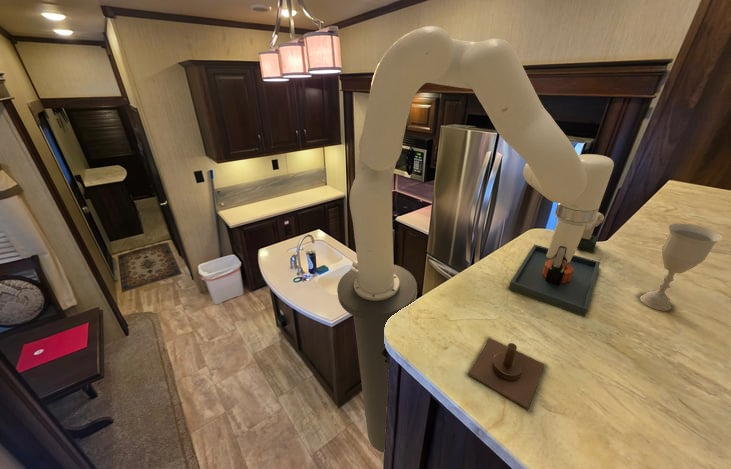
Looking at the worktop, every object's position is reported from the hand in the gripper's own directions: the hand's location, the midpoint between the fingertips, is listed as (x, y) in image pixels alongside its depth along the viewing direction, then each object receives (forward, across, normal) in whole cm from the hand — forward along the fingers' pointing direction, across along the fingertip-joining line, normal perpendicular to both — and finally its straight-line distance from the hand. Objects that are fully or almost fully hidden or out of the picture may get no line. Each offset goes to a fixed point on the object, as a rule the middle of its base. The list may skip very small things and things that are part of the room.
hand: (555, 275), depth 73 cm
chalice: (+1, -3, +19) cm, 19 cm away
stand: (+1, +34, -1) cm, 34 cm away
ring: (0, 0, 0) cm, 0 cm away
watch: (+1, -21, +3) cm, 21 cm away
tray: (+1, 0, 0) cm, 1 cm away
